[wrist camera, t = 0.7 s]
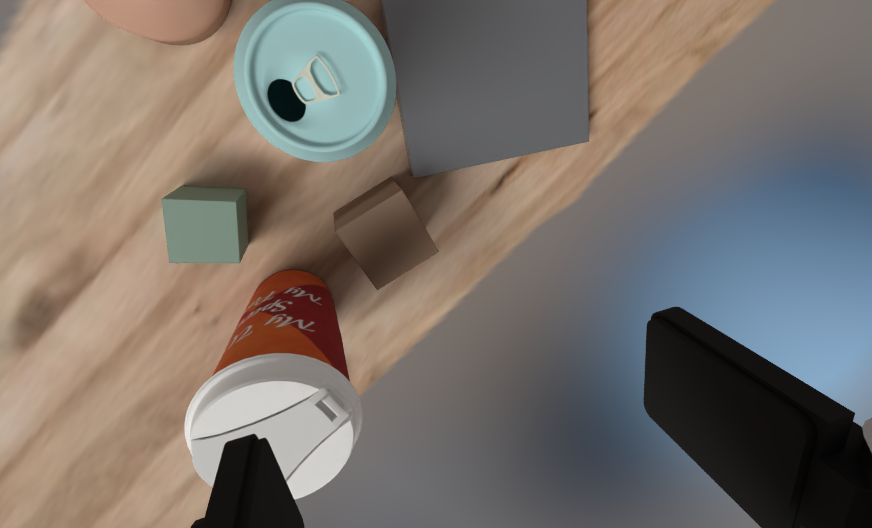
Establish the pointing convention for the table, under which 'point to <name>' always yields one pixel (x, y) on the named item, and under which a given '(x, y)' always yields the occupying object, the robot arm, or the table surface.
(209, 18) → the peach smooth rounded part
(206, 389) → the coffee cup
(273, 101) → the can
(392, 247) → the walnut block
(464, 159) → the slate board
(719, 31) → the table surface
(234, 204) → the green block
